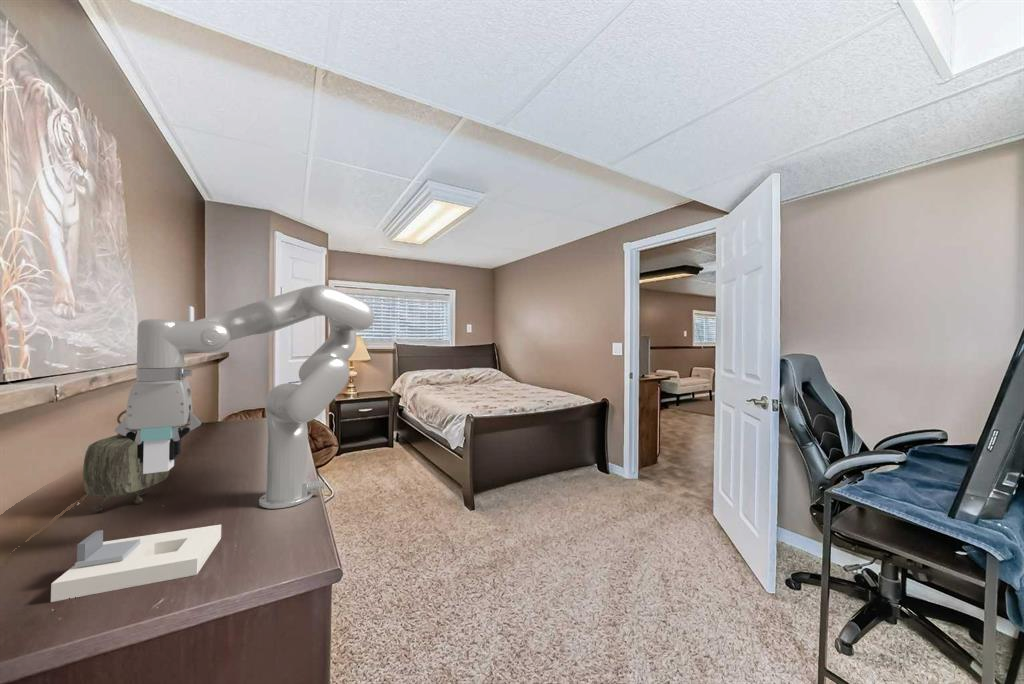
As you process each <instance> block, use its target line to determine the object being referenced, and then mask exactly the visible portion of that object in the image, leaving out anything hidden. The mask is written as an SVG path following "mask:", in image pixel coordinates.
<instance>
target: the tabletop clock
mask: <svg viewBox="0 0 1024 684" xmlns="http://www.w3.org/2000/svg"><path fill="white" fill-rule="evenodd" d="M126 410H127V409H125V410H124V411H122V412H120V414H118V415H117V418H116V422H117V424H118V425H119V424H120V423H121V422H122V421H120V419H121V417H122V416H123V415H124V414H126ZM134 431H136V432H137V431H138V430H134ZM170 470H171V469H170ZM170 470H169V471H164V472H156V473H147V474H143V463H140V458H139V459H138V458H137V444H135V442H134V441H132V440H131V439H129V438H128V437H126V436H124V435H121V434H119V433H117V434H115V435H112V436H110V437H105V438H101V439H100V440H96V441H95V442H93V443H90V444H89V445H88V447H87V449H86V451H85V455H84V461H83V470H82V477H83V478H82V479H83V481H82V482H83V487H84V490H85V493H86V495H87V496H92V497H93V496H95V497H96V496H98V497H99V496H101V497H102V496H103V497H104V498H103V499H102V500H101V502H100V504H98V505H95V506H94V507H93V509H92V510H93V513H99V512H101V511H102V510H103V506H104V504H106V502H108V500H110V498H112V497H125V496H129V495H132V494H134V495H135V497H136V498H135V499H134V501H133V502H134V505H135V504H136V505H139V504H142V502H143V501H144V499H143V497H141V496H143V495H145V494H146V493H147V490H148V489H149V488H150V487H153V486H155V485H157V484H160V483H161V482H163V481H165V480H166V479H167V478H168V477H169V475H170Z"/></svg>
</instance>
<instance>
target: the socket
mask: <svg viewBox="0 0 1024 684" xmlns="http://www.w3.org/2000/svg"><path fill="white" fill-rule="evenodd" d="M138 539H140V544H139V545H138V546H137V547H136V548H135V549H134V550H133V551H132V552H131V553H130V554H128V555H127V556H126V557H125V558H124V559H123V560H121V561H115V562H109V563H103V564H96V565H90V566H84V567H78V568H75V564H74V565H72V566H71V567H70V568H69V569H68V570H67V571H65V572H64V573H63V574H61V576H59V577H57V578H56V579H55V580H54V581H53V582H52V583H51V584H50V585H51V586H50V588H51V589H50V603H55V602H60V601H64V600H65V601H66V600H69V598H70V599H75V597H76V598H79V597H85V596H91V595H95V594H101V593H107V592H112V591H118V590H124V589H128V588H133V587H140V586H145V585H149V584H155V583H159V582H160V583H161V582H165V581H171V580H176V579H177V580H178V579H181V578H186V577H187V578H188V577H192V576H197V575H198V574H199V572H200V571H201V570H202V567H203V566H204V565H205V563H206V562H207V560H208V559H209V557H210V556H211V554H212V553H213V551H214V550H215V548H216V546H217V545H218V544H219V542H220V540H221V539H222V524H217V525H216V524H214V525H208V526H202V527H195V528H188V529H182V530H175V531H167V532H160V533H155V534H154V533H152V534H146V535H142V536H141V535H140V536H134V537H127V538H118V539H113V540H107V541H103V545H105V544H112V543H118V542H125V541H132V540H138Z"/></svg>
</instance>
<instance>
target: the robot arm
mask: <svg viewBox="0 0 1024 684" xmlns="http://www.w3.org/2000/svg"><path fill="white" fill-rule="evenodd" d="M320 316H321V317H322V316H324V317H327V318H328V324H329V325H328V326H329V335H328V337H327V339H325V341H324V342H323V343H322V344H321V345H320V346H319V348H318V349H317V350H315V351H314V352H313V353H312V354H311V355H310V356H309V357H308V358H307V359H305V361H304V362H303V363H302V364H301V366H300V367H299V370H298V378H299V380H300V381H301V383H300V384H296V383H289V382H287V383H282V384H278V385H276V386H275V387H273V388H272V389H271V390H270V391H269V392H267V393H268V394H267V396H266V398H265V401H264V412H265V417H266V419H265V420H266V429H267V431H266V433H267V435H266V436H267V441H266V443H267V444H266V448H267V449H266V481H265V482H266V483H265V484H266V486H265V487H266V490H265V491H266V492H265V494H263V495H261V496H260V498H259V500H258V505H259V506H260V507H262V508H264V509H272V510H273V509H274V510H275V509H284V508H289V507H294V506H298V505H300V504H303V503H305V502H307V501H309V500H310V499H312V497H313V495H314V491H322V490H325V483H326V482H325V481H324V482H321V480H315V481H311V480H310V477H309V476H308V441H309V430H308V429H309V428H308V423H309V422H310V421H313V420H314V419H316V418H318V416H319V415H320V414H322V413H323V412H324V410H325V409H326V408H327V407H328V406H329V405H331V403H332V402H333V401H334V399H335V398H336V397H337V396H338V395H339V394H340V393H341V392H342V390H343V389H344V388H345V386H346V385H347V383H348V381H349V379H350V375H351V371H350V366H349V364H348V363H347V362H348V361H349V359H350V358H351V357H352V356H353V354H354V353H355V351H356V348H357V332H358V331H359V332H360V331H364V330H368V329H369V328H370V327H371V326H373V324H374V321H375V313H374V310H373V309H372V307H371V306H370V305H369V304H367V303H366V302H364V301H362V300H360V299H358V298H356V297H353V296H351V295H349V294H348V293H345V292H343V291H341V290H338V289H337V288H335V287H334V288H333V287H332V286H328V285H325V284H316V285H311V286H306V287H302V288H299V289H295V290H292V291H289V292H285V293H282V294H279V295H275V296H271V297H268V298H265V299H261V300H258V301H254V302H251V303H249V304H246V305H243V306H241V307H237V308H234V309H230V310H228V311H224V312H220V313H218V314H214V315H211V316H208V317H204V318H200V319H197V320H193V321H190V320H189V321H179V320H174V319H161V318H160V319H159V318H158V319H157V318H153V319H152V318H151V319H149V318H148V319H147V318H146V319H141V321H139V322H138V325H137V328H136V329H137V338H136V340H137V341H136V382H132V384H131V386H130V391H129V394H128V398H127V403H126V409H125V410H126V413H125V417H124V418H123V419H122V421H120V422H121V423H120V424H119V423H118V425H117V427H115V429H114V433H117V434H118V433H119V434H121V435H124V436H126V437H128V438H129V439H131V440H132V441H134V442H135V444H137V458H138V459H139V458H140V463H143V452H144V441H140V435H141V429H148V428H162V427H172V439H171V442H170V444H169V460H174V461H175V459H176V458H177V457H178V455H181V449H182V448H181V447H182V445H181V444H182V440H181V439H183V437H185V436H186V435H187V434H188V433H189V432H191V431H194V430H195V429H196V428H198V427H200V426H202V425H201V424H202V422H201V421H200V419H199V418H198V417H197V416H196V415H195V414H194V412H193V399H192V391H191V386H190V382H189V380H184V379H185V378H188V377H192V375H193V370H192V369H190V370H188V369H187V368H186V367H185V352H195V353H204V354H205V353H206V354H209V353H210V354H213V353H216V352H219V351H221V350H223V349H225V348H226V347H227V346H228V344H229V343H230V342H232V341H234V340H237V339H242V338H245V337H246V338H247V337H250V336H253V335H255V336H257V335H263V334H268V333H271V332H275V331H279V330H281V329H284V328H287V327H289V326H292V325H294V324H298V323H300V322H301V323H302V322H303V321H306V320H309V319H311V318H315V317H320ZM188 423H190V424H188ZM187 424H188V425H187ZM186 425H187V426H186ZM183 426H185V427H184V428H182V427H183ZM134 430H138V431H137V432H136V431H134ZM319 487H320V489H319Z"/></svg>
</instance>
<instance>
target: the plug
mask: <svg viewBox="0 0 1024 684" xmlns="http://www.w3.org/2000/svg"><path fill="white" fill-rule="evenodd" d="M171 439H172V427H162V428H148V429H141V435H140V441H144V452H143V474H147V473H156V472H164V471H169V470H171V469H173V467H175V459H174V460H169V444H170V442H171ZM169 472H170V471H169Z"/></svg>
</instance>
